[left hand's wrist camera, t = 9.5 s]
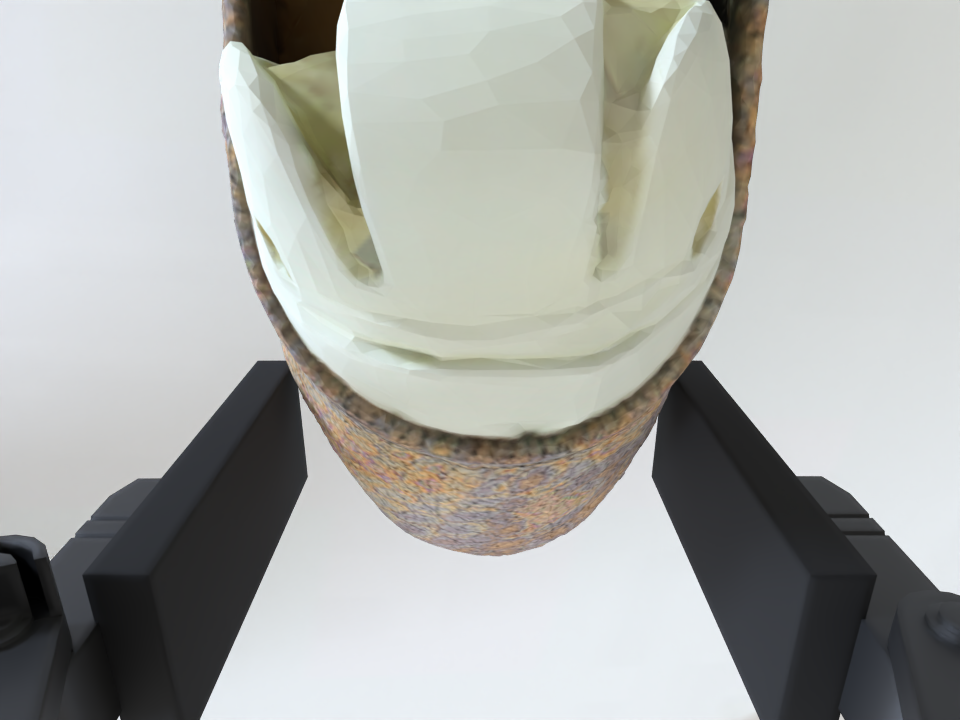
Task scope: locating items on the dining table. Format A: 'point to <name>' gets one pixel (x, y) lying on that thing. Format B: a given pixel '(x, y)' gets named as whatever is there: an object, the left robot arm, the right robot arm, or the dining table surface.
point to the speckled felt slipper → (490, 234)
